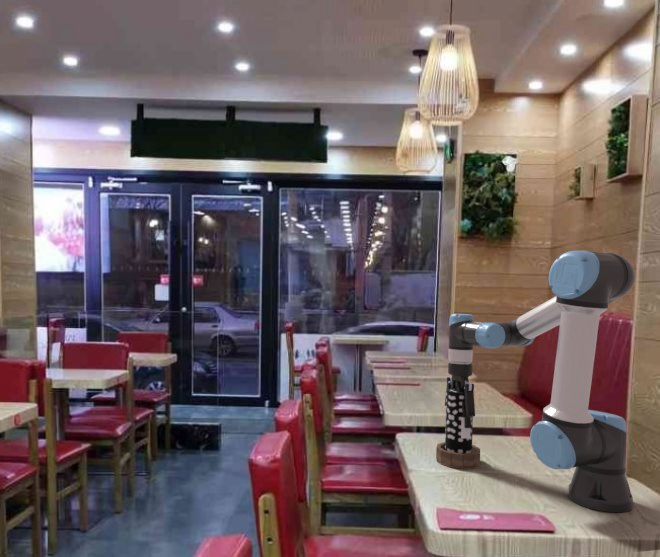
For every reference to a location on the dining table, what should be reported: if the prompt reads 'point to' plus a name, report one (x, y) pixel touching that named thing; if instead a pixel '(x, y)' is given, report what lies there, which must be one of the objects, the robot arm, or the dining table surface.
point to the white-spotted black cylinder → (456, 424)
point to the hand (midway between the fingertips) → (458, 434)
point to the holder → (458, 457)
